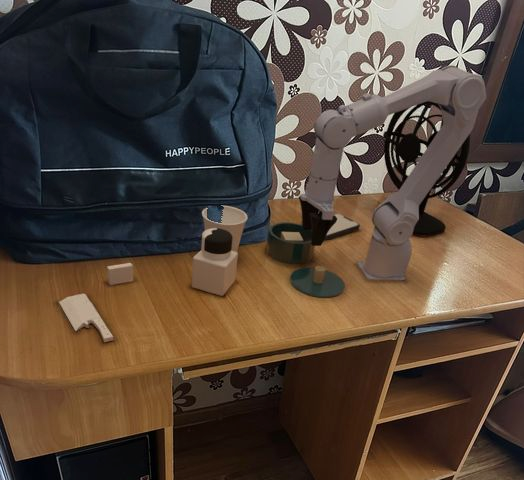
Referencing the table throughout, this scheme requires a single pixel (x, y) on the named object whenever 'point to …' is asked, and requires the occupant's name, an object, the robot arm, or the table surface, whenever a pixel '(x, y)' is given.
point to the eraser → (120, 273)
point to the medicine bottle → (215, 262)
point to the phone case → (341, 227)
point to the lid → (317, 282)
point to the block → (291, 236)
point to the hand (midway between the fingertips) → (311, 237)
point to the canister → (289, 244)
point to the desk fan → (409, 153)
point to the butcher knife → (84, 315)
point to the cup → (228, 223)
